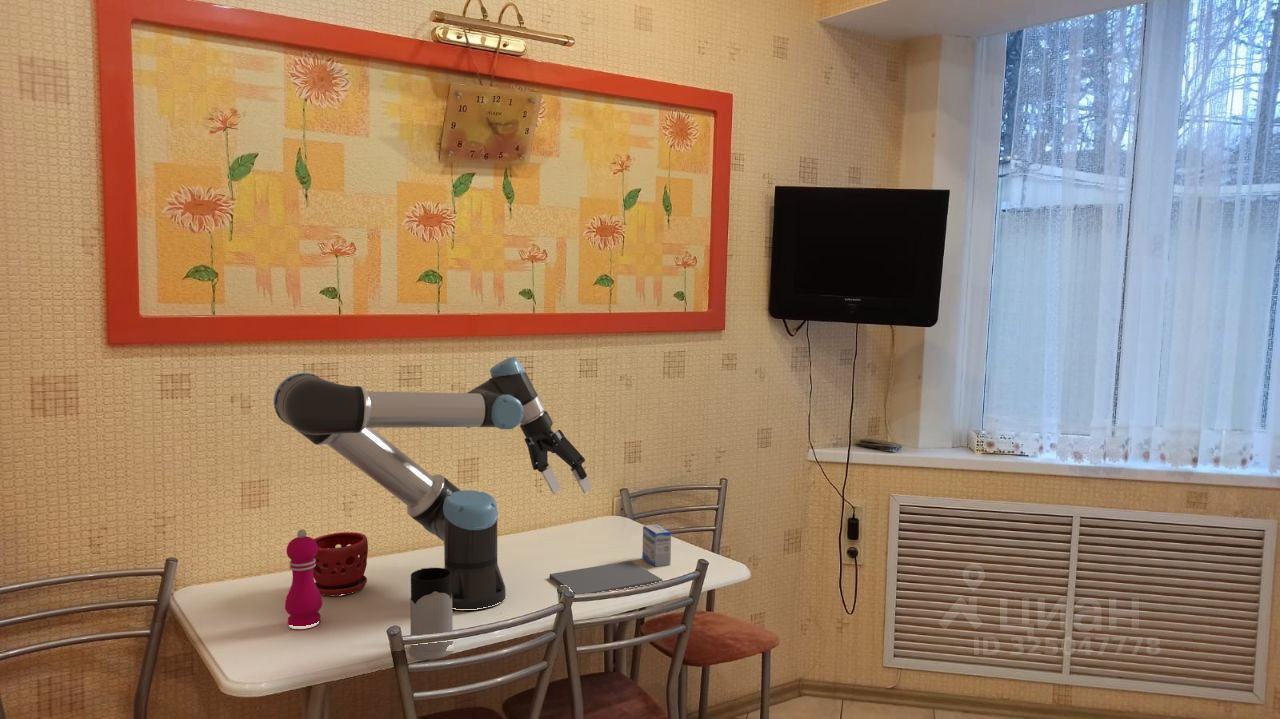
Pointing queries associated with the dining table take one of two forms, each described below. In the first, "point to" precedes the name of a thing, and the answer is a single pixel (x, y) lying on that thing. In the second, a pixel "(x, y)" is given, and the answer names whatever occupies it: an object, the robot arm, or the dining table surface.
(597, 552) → the dining table surface
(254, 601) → the dining table surface
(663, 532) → the medicine box
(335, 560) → the plant pot
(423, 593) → the glass holder
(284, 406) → the robot arm
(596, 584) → the rubber mat
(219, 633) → the dining table surface
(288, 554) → the pepper mill
